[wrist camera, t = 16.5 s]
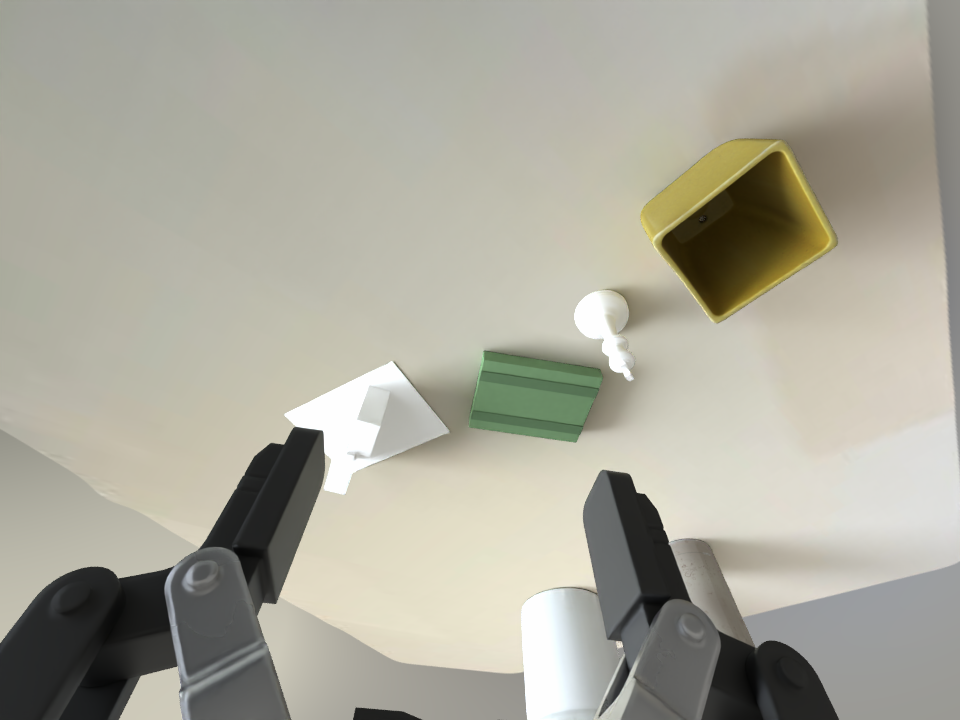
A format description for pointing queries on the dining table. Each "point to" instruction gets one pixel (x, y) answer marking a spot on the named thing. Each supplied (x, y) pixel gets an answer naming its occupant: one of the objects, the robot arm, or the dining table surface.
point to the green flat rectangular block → (533, 396)
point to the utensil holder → (565, 655)
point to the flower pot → (738, 224)
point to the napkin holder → (368, 422)
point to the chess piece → (607, 327)
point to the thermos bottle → (709, 587)
